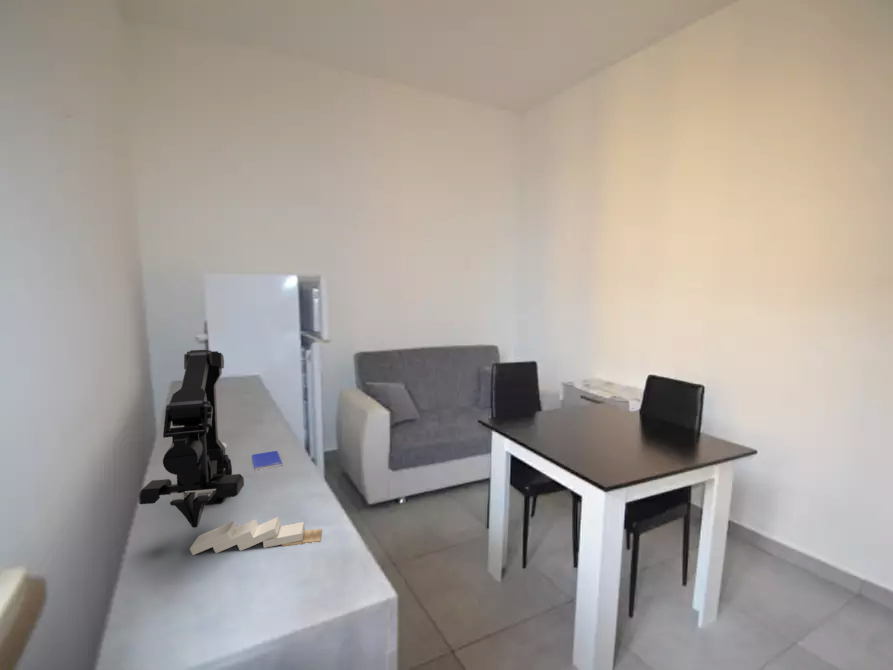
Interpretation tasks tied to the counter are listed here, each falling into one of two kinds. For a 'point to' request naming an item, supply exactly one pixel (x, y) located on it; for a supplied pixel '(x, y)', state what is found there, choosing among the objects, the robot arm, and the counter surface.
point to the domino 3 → (262, 533)
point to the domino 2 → (239, 536)
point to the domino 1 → (213, 537)
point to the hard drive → (266, 460)
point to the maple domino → (308, 537)
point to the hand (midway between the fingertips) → (195, 526)
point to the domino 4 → (286, 535)
